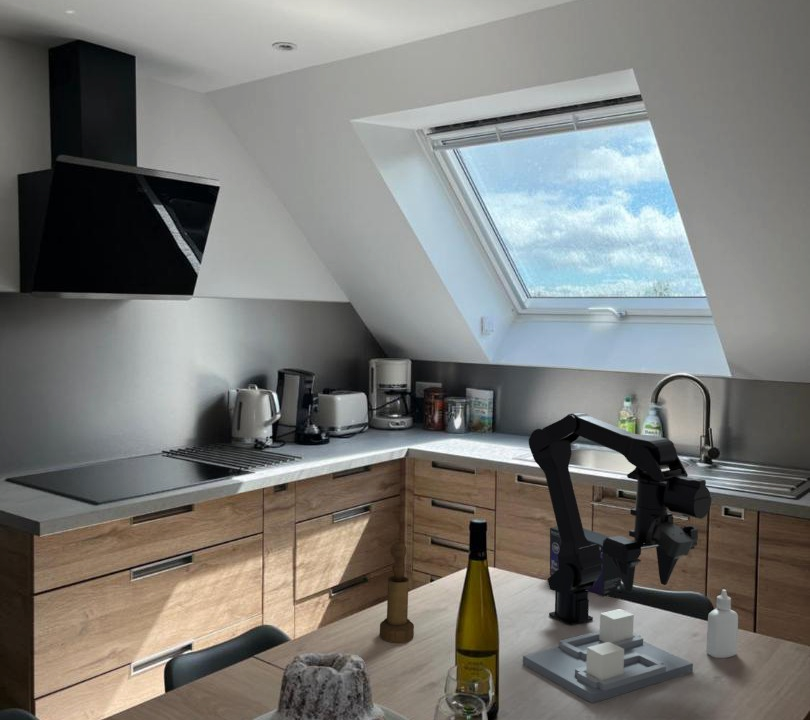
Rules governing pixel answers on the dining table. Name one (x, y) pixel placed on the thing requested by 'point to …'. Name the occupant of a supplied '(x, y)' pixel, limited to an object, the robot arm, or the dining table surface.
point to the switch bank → (639, 671)
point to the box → (610, 575)
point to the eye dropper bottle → (722, 629)
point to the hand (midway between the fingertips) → (646, 588)
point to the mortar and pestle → (397, 602)
